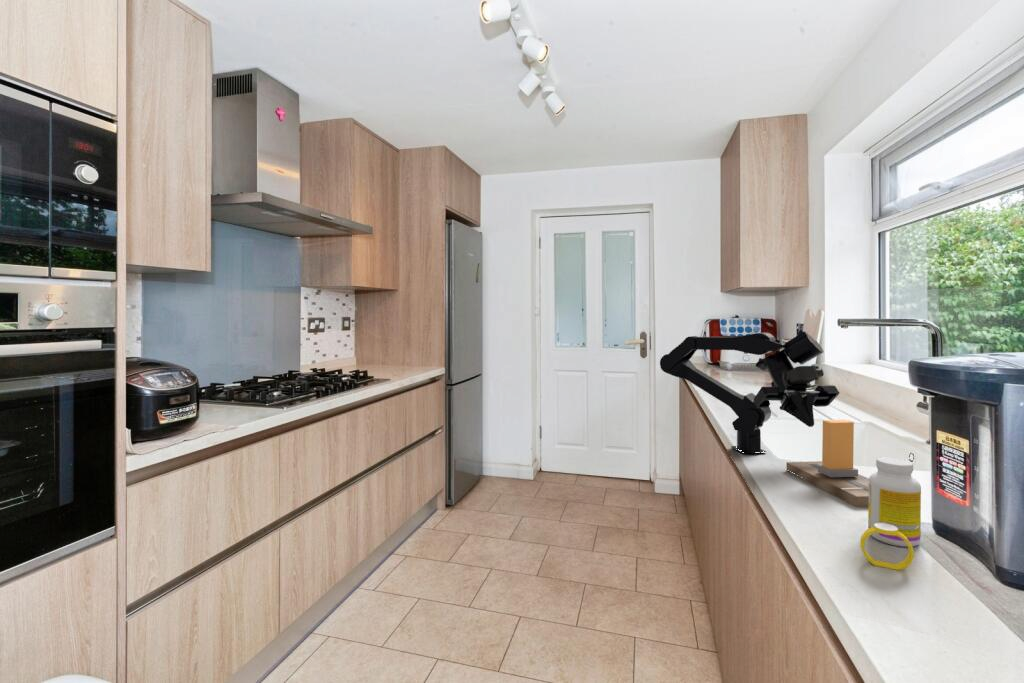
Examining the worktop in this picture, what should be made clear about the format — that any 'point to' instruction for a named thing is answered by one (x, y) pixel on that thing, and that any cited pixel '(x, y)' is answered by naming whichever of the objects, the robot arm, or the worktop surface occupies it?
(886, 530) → the watch
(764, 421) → the robot arm
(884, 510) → the supplement bottle
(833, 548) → the worktop surface
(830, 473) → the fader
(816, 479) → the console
